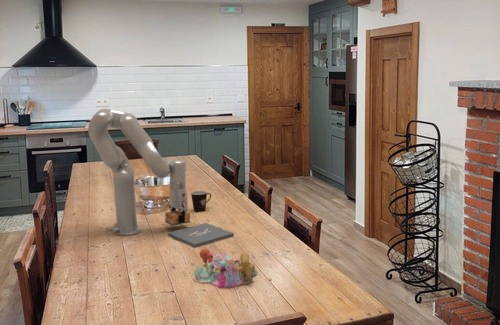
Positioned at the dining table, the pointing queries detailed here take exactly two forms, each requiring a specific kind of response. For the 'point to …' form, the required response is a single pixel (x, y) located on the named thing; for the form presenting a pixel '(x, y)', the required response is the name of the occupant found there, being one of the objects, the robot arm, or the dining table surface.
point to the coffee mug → (199, 200)
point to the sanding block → (176, 217)
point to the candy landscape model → (224, 270)
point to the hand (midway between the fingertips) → (177, 220)
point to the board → (200, 234)
